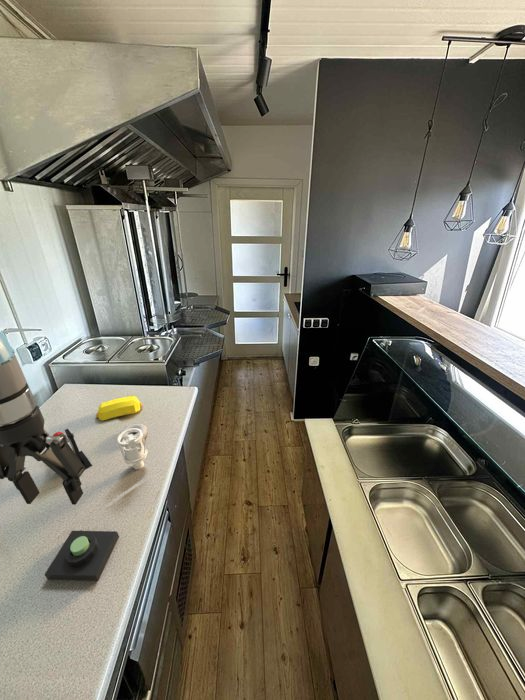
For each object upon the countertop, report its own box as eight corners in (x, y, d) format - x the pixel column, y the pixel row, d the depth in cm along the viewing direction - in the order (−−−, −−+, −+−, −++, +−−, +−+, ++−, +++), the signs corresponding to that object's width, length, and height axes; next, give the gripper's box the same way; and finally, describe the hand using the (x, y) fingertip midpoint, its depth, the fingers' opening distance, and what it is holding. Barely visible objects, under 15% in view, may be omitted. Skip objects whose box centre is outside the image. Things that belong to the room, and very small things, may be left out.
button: (69, 556, 67) (66, 551, 66) (78, 540, 70) (76, 535, 69) (83, 556, 67) (81, 552, 66) (92, 540, 70) (90, 536, 69)
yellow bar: (97, 414, 120) (96, 425, 114) (93, 401, 117) (91, 411, 111) (143, 403, 127) (144, 413, 120) (139, 390, 124) (140, 399, 117)
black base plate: (47, 579, 66) (41, 570, 64) (74, 535, 75) (69, 526, 73) (98, 581, 65) (93, 571, 64) (119, 536, 74) (115, 526, 73)
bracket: (56, 466, 96) (41, 435, 90) (82, 452, 101) (70, 422, 95) (66, 483, 89) (51, 450, 83) (93, 467, 95) (80, 436, 89)
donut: (132, 426, 113) (113, 444, 104) (130, 419, 111) (111, 436, 103) (153, 431, 110) (136, 449, 101) (152, 424, 109) (134, 442, 100)
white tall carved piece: (131, 480, 90) (119, 444, 83) (125, 466, 95) (114, 431, 88) (153, 469, 94) (144, 434, 87) (147, 456, 99) (137, 422, 92)
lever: (54, 444, 98) (49, 434, 98) (65, 438, 101) (61, 429, 100) (59, 448, 88) (54, 438, 87) (72, 442, 90) (67, 432, 90)
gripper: (84, 401, 54) (114, 483, 64) (-27, 401, 55) (20, 482, 65) (57, 428, 47) (95, 516, 57) (-69, 428, 48) (-10, 514, 58)
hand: (55, 498), depth 61 cm, fingers open, 9 cm apart
